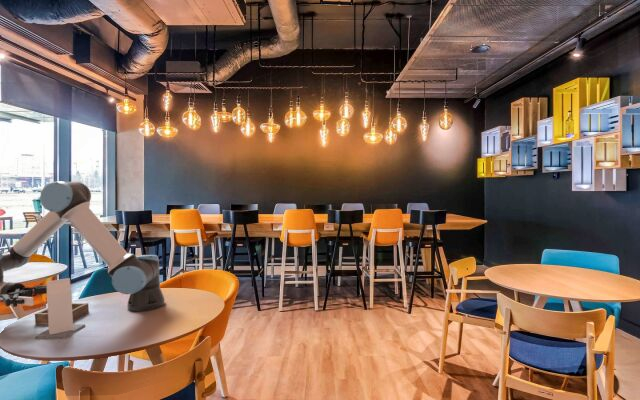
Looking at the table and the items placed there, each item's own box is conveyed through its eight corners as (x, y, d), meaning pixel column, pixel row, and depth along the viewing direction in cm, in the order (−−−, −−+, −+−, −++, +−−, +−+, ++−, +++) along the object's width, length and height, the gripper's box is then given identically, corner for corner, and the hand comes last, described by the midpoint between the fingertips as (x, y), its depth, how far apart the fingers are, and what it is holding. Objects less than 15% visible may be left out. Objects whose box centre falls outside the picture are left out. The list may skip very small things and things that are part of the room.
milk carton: (73, 330, 138) (70, 279, 137) (49, 335, 133) (46, 283, 132) (71, 324, 143) (68, 276, 142) (48, 329, 139) (45, 279, 138)
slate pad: (85, 326, 144) (84, 324, 144) (65, 338, 133) (64, 335, 133) (57, 326, 144) (57, 324, 144) (34, 338, 133) (34, 336, 133)
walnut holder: (88, 312, 160) (88, 303, 160) (67, 323, 147) (67, 313, 147) (59, 312, 160) (58, 303, 160) (35, 324, 147) (34, 314, 147)
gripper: (41, 292, 156) (81, 295, 150) (-28, 312, 132) (16, 317, 126) (41, 275, 156) (80, 277, 150) (-29, 292, 132) (14, 295, 126)
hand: (51, 295), depth 138 cm, fingers open, 13 cm apart
